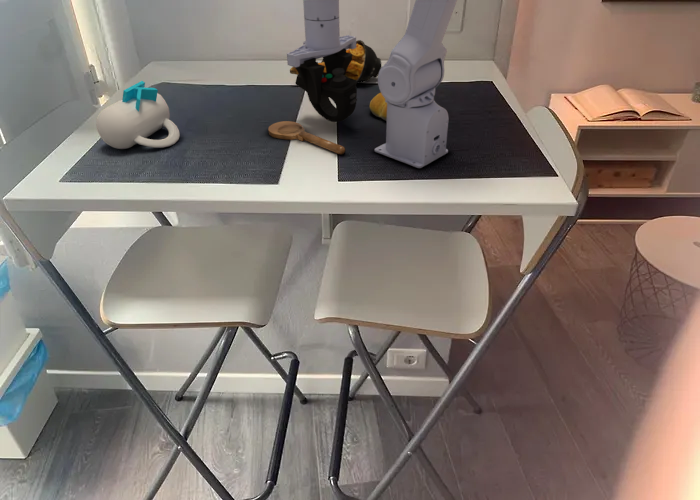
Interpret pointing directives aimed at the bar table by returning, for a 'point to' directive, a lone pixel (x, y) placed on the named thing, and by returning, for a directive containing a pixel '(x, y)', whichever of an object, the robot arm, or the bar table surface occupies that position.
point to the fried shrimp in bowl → (359, 63)
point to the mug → (136, 119)
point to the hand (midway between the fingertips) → (324, 98)
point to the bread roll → (379, 106)
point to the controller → (335, 95)
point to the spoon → (301, 135)
